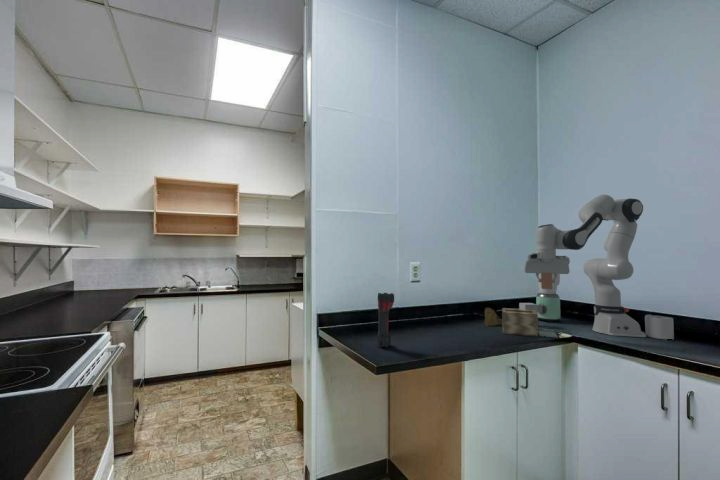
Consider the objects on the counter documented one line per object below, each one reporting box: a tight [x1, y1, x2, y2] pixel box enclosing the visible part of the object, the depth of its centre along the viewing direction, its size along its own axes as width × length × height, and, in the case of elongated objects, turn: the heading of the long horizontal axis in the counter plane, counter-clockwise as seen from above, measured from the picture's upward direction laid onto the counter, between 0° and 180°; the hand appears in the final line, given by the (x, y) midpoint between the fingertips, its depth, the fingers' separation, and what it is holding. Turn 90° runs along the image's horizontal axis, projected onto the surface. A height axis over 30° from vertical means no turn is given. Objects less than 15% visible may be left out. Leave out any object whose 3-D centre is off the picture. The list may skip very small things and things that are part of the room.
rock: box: [484, 307, 501, 327], centre depth 191 cm, size 11×9×10 cm
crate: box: [501, 307, 539, 338], centre depth 174 cm, size 16×14×11 cm
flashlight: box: [376, 292, 395, 348], centre depth 146 cm, size 8×8×23 cm
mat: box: [538, 330, 559, 339], centre depth 168 cm, size 8×10×1 cm
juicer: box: [535, 273, 561, 324], centre depth 207 cm, size 19×13×35 cm
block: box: [541, 273, 552, 289], centre depth 170 cm, size 4×4×8 cm
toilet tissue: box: [644, 314, 675, 340], centre depth 166 cm, size 11×12×10 cm
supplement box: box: [518, 302, 539, 322], centre depth 191 cm, size 7×7×13 cm
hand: (546, 282), depth 170 cm, fingers closed on block, 4 cm apart
